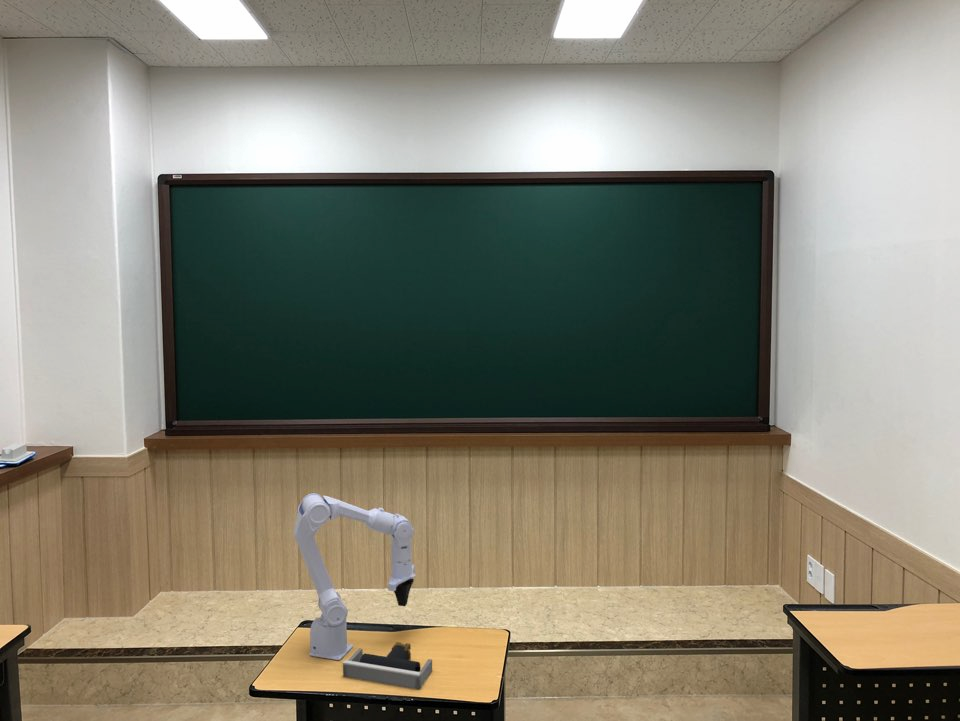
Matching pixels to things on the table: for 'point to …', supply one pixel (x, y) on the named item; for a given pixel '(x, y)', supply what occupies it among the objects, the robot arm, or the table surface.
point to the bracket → (385, 672)
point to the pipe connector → (394, 658)
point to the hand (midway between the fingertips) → (402, 605)
